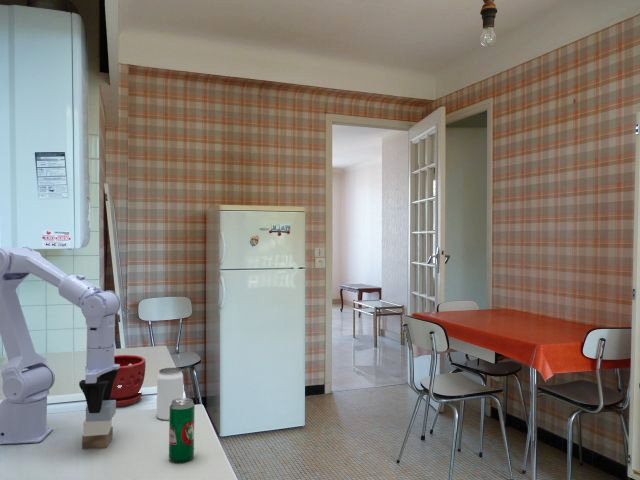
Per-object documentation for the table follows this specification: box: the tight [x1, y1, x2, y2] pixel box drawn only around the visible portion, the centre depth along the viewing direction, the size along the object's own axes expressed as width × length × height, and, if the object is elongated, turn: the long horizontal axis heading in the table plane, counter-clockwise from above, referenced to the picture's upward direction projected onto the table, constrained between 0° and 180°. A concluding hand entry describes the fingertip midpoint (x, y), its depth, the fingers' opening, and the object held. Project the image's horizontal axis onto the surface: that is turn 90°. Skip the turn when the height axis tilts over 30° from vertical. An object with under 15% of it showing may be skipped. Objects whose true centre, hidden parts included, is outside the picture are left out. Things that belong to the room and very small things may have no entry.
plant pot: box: [110, 354, 146, 408], centre depth 138 cm, size 13×13×12 cm
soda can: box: [168, 397, 196, 464], centre depth 103 cm, size 5×5×12 cm
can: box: [156, 367, 184, 421], centre depth 127 cm, size 6×6×12 cm
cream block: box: [82, 418, 113, 436], centre depth 109 cm, size 5×5×3 cm
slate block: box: [85, 400, 117, 422], centre depth 110 cm, size 5×5×3 cm
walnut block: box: [81, 426, 114, 450], centre depth 109 cm, size 5×5×3 cm
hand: (99, 406), depth 110 cm, fingers open, 7 cm apart
